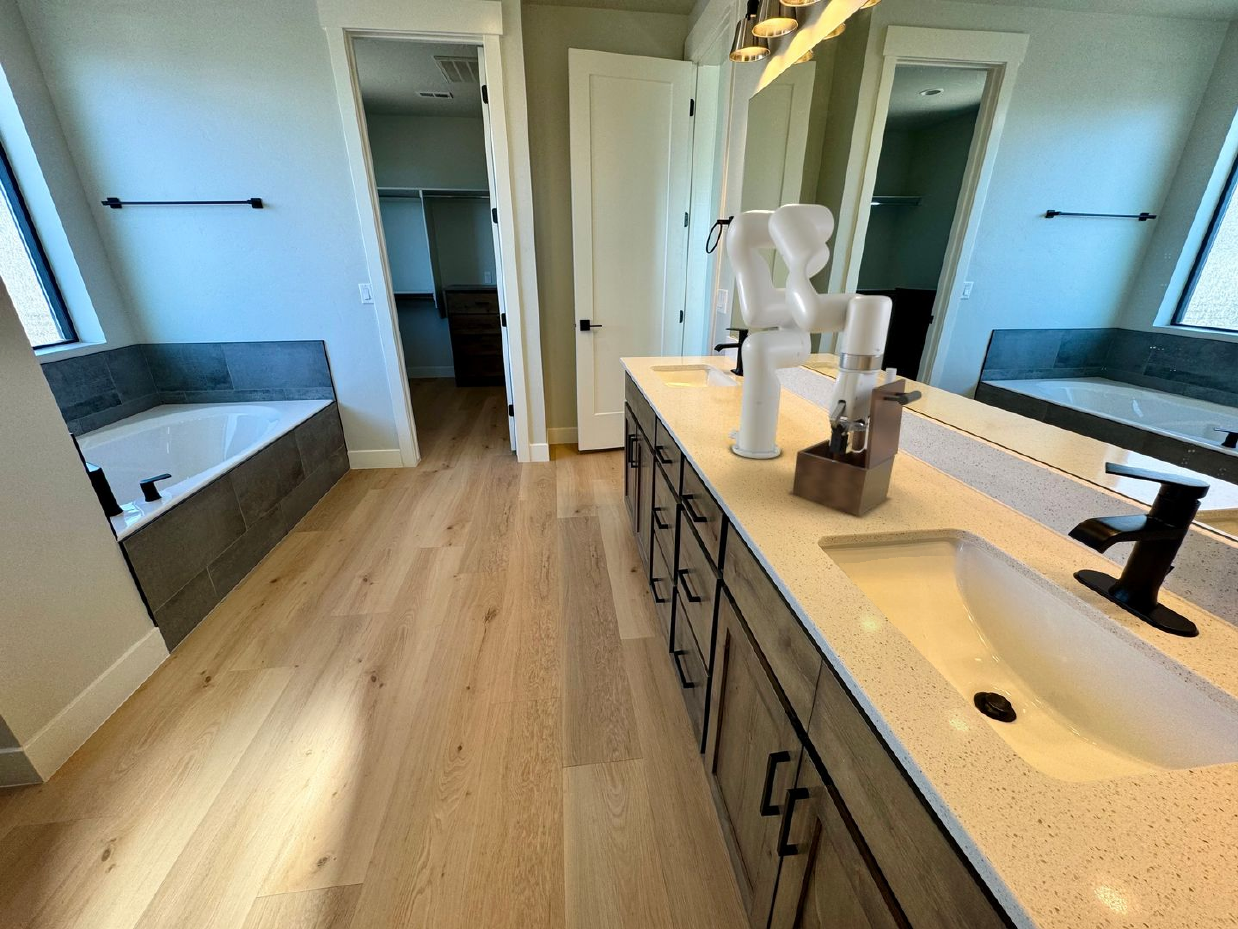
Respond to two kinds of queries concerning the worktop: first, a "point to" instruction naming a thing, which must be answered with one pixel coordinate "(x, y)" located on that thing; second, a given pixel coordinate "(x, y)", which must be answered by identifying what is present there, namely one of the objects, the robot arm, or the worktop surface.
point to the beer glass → (853, 445)
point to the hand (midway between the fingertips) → (846, 448)
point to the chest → (840, 480)
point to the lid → (886, 420)
